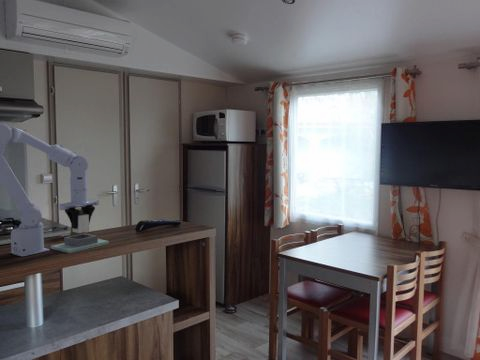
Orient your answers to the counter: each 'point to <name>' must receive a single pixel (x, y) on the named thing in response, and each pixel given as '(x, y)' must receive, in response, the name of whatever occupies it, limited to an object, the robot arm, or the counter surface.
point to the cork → (72, 228)
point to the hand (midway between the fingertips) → (80, 227)
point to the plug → (82, 222)
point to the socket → (79, 243)
